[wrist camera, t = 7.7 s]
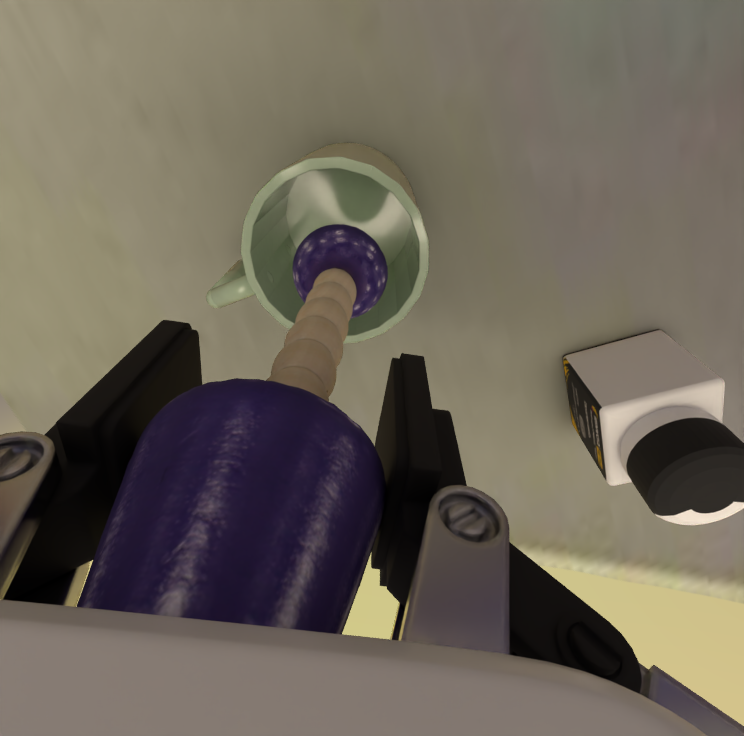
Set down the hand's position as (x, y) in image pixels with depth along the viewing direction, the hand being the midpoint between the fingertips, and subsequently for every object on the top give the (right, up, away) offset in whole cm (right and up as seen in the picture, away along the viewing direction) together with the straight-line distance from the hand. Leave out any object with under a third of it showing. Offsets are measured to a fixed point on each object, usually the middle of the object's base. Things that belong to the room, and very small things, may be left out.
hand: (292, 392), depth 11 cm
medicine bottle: (+21, 0, +23) cm, 31 cm away
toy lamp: (0, +5, +9) cm, 10 cm away
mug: (-1, +10, +17) cm, 20 cm away
